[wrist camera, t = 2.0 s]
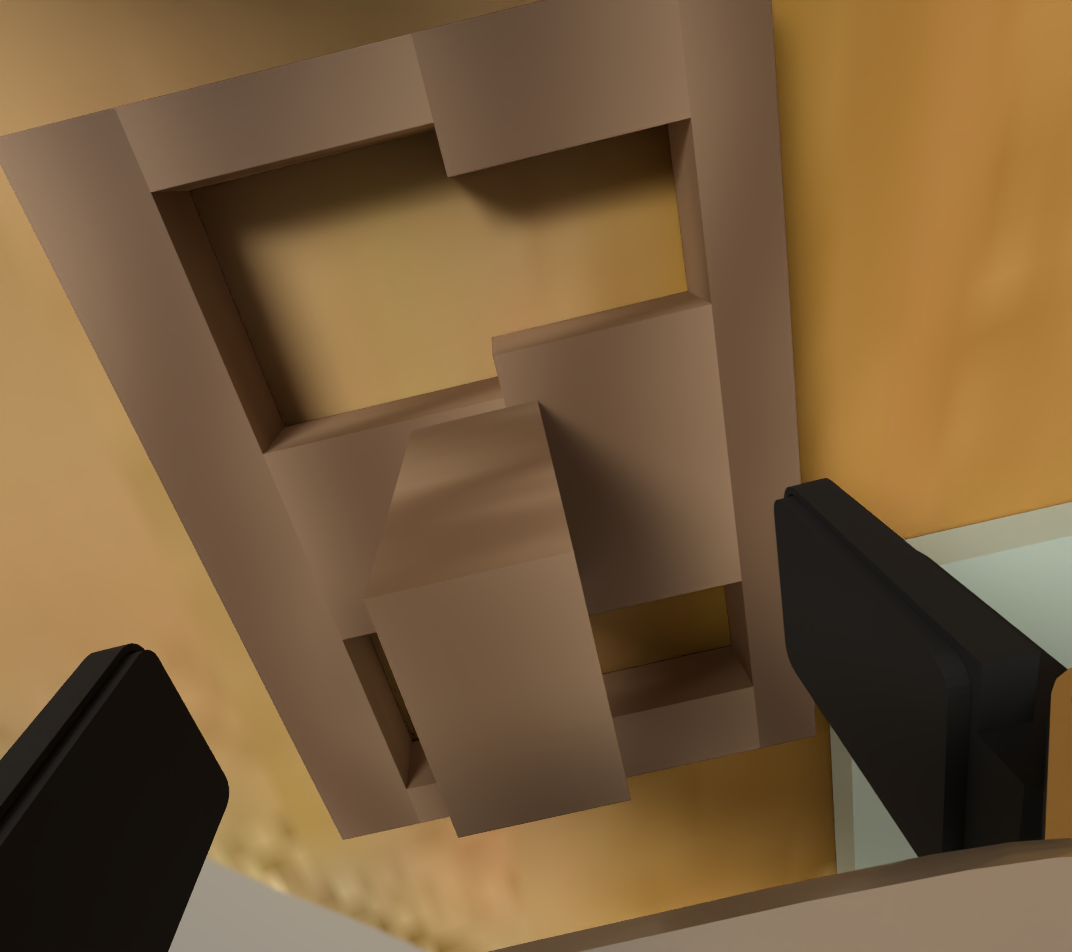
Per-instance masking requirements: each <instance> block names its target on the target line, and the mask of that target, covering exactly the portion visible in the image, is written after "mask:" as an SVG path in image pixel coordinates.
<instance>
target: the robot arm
mask: <svg viewBox="0 0 1072 952" xmlns="http://www.w3.org/2000/svg"><path fill="white" fill-rule="evenodd" d="M774 519H775V531H776V542H777V554H778V565H779V577H780V588H781V600H782V611H783V623H784V634H785V645H786V651H787V655H788V658H789V661H790V663H791V665H792V668H793V669H794V671H795V673H796V674H797V676H798V677H799V679H800V680H801V682H802V683H803V685H804V686H805V688H806V689H807V691H808V692H809V694H810V695H811V697H812V698H813V700H814V701H815V703H816V704H817V706H818V707H819V709H820V710H821V712H822V713H823V715H824V716H825V718H826V719H827V721H828V722H829V724H830V725H831V727H832V728H833V730H834V731H835V733H836V734H837V736H838V737H839V739H840V740H841V742H842V743H843V745H844V746H845V748H846V749H847V751H848V753H849V754H850V756H851V757H852V759H853V760H854V762H855V763H856V765H857V766H858V768H859V769H860V771H861V772H862V774H863V775H864V777H865V778H866V780H867V781H868V783H869V784H870V786H871V787H872V789H873V790H874V792H875V793H876V795H877V796H878V798H879V799H880V801H881V802H882V804H883V805H884V807H885V808H886V810H887V811H888V813H889V814H890V816H891V817H892V819H893V820H894V822H895V823H896V825H897V826H898V828H899V829H900V831H901V832H902V834H903V835H904V837H905V838H906V840H907V841H908V843H909V844H910V846H911V847H912V849H913V850H914V852H915V853H916V855H917V856H918V857H917V858H912V859H907V860H902V861H898V862H893V863H888V864H883V865H878V866H873V867H868V868H864V869H859V870H854V871H849V872H844V873H839V874H835V875H830V876H825V877H820V878H815V879H810V880H806V881H801V882H796V883H791V884H786V885H781V886H777V887H772V888H767V889H763V890H759V891H754V892H750V893H745V894H741V895H736V896H732V897H727V898H723V899H719V900H714V901H710V902H705V903H701V904H696V905H692V906H688V907H683V908H679V909H674V910H670V911H665V912H661V913H657V914H652V915H648V916H643V917H639V918H634V919H630V920H626V921H621V922H617V923H612V924H608V925H603V926H599V927H595V928H590V929H586V930H581V931H577V932H572V933H568V934H564V935H559V936H555V937H550V938H546V939H541V940H537V941H533V942H528V943H524V944H520V945H515V946H511V947H507V948H502V949H498V950H494V951H489V952H1072V668H1069V669H1067V668H1066V667H1064V666H1063V665H1062V664H1061V663H1059V662H1058V661H1057V660H1056V659H1055V658H1053V657H1052V656H1051V655H1050V654H1048V653H1047V652H1046V651H1045V650H1043V649H1042V648H1041V647H1040V646H1038V645H1037V644H1036V643H1035V642H1033V641H1032V640H1031V639H1030V638H1029V637H1027V636H1026V635H1025V634H1024V633H1022V632H1021V631H1020V630H1019V629H1017V628H1016V627H1015V626H1014V625H1012V624H1011V623H1010V622H1009V621H1007V620H1006V619H1005V618H1004V617H1002V616H1001V615H1000V614H999V613H998V612H996V611H995V610H994V609H993V608H991V607H990V606H989V605H988V604H986V603H985V602H984V601H983V600H981V599H980V598H979V597H978V596H976V595H975V594H974V593H973V592H972V591H970V590H969V589H968V588H967V587H965V586H964V585H963V584H962V583H960V582H959V581H958V580H957V579H955V578H954V577H953V576H952V575H950V574H949V573H948V572H947V571H945V570H944V569H943V568H942V567H941V566H939V565H938V564H937V563H936V562H934V561H933V560H932V559H931V558H929V557H928V556H926V555H925V554H923V553H921V552H920V551H917V550H916V549H915V548H914V547H912V546H911V545H910V544H909V543H907V542H906V541H905V540H904V539H902V538H901V537H900V536H899V535H898V534H896V533H895V532H894V531H893V530H891V529H890V528H889V527H888V526H886V525H885V524H884V523H883V522H882V521H880V520H879V519H878V518H877V517H875V516H874V515H873V514H872V513H871V512H869V511H868V510H867V509H866V508H864V507H863V506H862V505H861V504H859V503H858V502H857V501H856V500H855V499H853V498H852V497H851V496H850V495H848V494H847V493H846V492H845V491H843V490H842V489H841V488H840V487H839V486H837V485H836V484H835V483H834V482H832V481H831V480H829V479H827V478H824V479H819V480H815V481H811V482H807V483H803V484H798V485H794V486H790V487H787V488H786V490H785V493H784V498H782V499H778V500H776V501H775V502H774ZM228 799H229V786H228V781H227V779H226V776H225V774H224V773H223V771H222V769H221V767H220V766H219V764H218V762H217V760H216V759H215V757H214V755H213V753H212V752H211V750H210V748H209V746H208V744H207V743H206V741H205V739H204V737H203V736H202V734H201V732H200V730H199V729H198V727H197V725H196V723H195V722H194V720H193V718H192V716H191V715H190V713H189V711H188V709H187V707H186V706H185V704H184V702H183V700H182V699H181V697H180V695H179V693H178V692H177V690H176V688H175V686H174V685H173V683H172V681H171V679H170V677H169V676H168V674H167V672H166V670H165V669H164V667H163V665H162V663H161V662H160V660H159V658H158V657H157V655H156V654H155V653H154V652H152V651H151V650H144V648H142V647H141V646H139V645H138V644H133V643H131V644H127V645H123V646H119V647H114V648H110V649H106V650H102V651H98V652H94V653H91V654H90V655H89V656H87V657H86V658H85V659H84V660H83V662H82V663H81V664H80V665H79V666H78V668H77V669H76V670H75V671H74V672H73V674H72V675H71V676H70V677H69V678H68V680H67V681H66V682H65V683H64V684H63V686H62V687H61V688H60V689H59V690H58V692H57V693H56V694H55V695H54V696H53V698H52V699H51V700H50V701H49V702H48V704H47V705H46V706H45V707H44V708H43V710H42V711H41V712H40V713H39V714H38V716H37V717H36V718H35V719H34V720H33V722H32V723H31V724H30V725H29V726H28V728H27V729H26V730H25V731H24V732H23V734H22V735H21V736H20V737H19V738H18V740H17V741H16V742H15V743H14V744H13V746H12V747H11V748H10V749H9V750H8V752H7V753H6V754H5V755H4V756H3V758H2V759H1V760H0V952H168V950H169V948H170V945H171V943H172V940H173V938H174V935H175V933H176V930H177V928H178V925H179V923H180V921H181V918H182V916H183V913H184V911H185V908H186V906H187V903H188V901H189V898H190V896H191V893H192V891H193V888H194V886H195V883H196V881H197V878H198V876H199V874H200V871H201V868H202V866H203V864H204V861H205V859H206V856H207V854H208V851H209V849H210V846H211V844H212V841H213V839H214V836H215V834H216V831H217V829H218V826H219V824H220V821H221V819H222V817H223V814H224V812H225V809H226V807H227V803H228Z"/></svg>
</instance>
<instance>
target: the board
mask: <svg viewBox="0 0 1072 952" xmlns="http://www.w3.org/2000/svg"><path fill="white" fill-rule="evenodd" d="M905 541H906V542H907V543H909V544H910V545H911V546H912V547H914V548H915V549H916V550H917V551H920V552H921V553H923V554H925V555H926V556H928V557H929V558H931V559H932V560H933V561H934V562H936V563H937V564H938V565H939V566H941V567H942V568H943V569H944V570H945V571H947V572H948V573H949V574H950V575H952V576H953V577H954V578H955V579H957V580H958V581H959V582H960V583H962V584H963V585H964V586H965V587H967V588H968V589H969V590H970V591H972V592H973V593H974V594H975V595H976V596H978V597H979V598H980V599H981V600H983V601H984V602H985V603H986V604H988V605H989V606H990V607H991V608H993V609H994V610H995V611H996V612H998V613H999V614H1000V615H1001V616H1002V617H1004V618H1005V619H1006V620H1007V621H1009V622H1010V623H1011V624H1012V625H1014V626H1015V627H1016V628H1017V629H1019V630H1020V631H1021V632H1022V633H1024V634H1025V635H1026V636H1027V637H1029V638H1030V639H1031V640H1032V641H1033V642H1035V643H1036V644H1037V645H1038V646H1040V647H1041V648H1042V649H1043V650H1045V651H1046V652H1047V653H1048V654H1050V655H1051V656H1052V657H1053V658H1055V659H1056V660H1057V661H1058V662H1059V663H1061V664H1062V665H1063V666H1064V667H1066V668H1067V669H1069V668H1072V502H1069V503H1065V504H1060V505H1056V506H1052V507H1047V508H1043V509H1038V510H1034V511H1030V512H1025V513H1021V514H1016V515H1012V516H1008V517H1003V518H999V519H994V520H990V521H985V522H981V523H977V524H972V525H968V526H963V527H959V528H955V529H950V530H946V531H941V532H937V533H933V534H928V535H924V536H919V537H915V538H911V539H906V540H905ZM830 740H831V761H832V781H833V801H834V822H835V842H836V863H837V874H839V873H844V872H849V871H854V870H859V869H864V868H868V867H873V866H878V865H883V864H888V863H893V862H898V861H902V860H907V859H912V858H917V857H918V856H917V855H916V853H915V852H914V850H913V849H912V847H911V846H910V844H909V843H908V841H907V840H906V838H905V837H904V835H903V834H902V832H901V831H900V829H899V828H898V826H897V825H896V823H895V822H894V820H893V819H892V817H891V816H890V814H889V813H888V811H887V810H886V808H885V807H884V805H883V804H882V802H881V801H880V799H879V798H878V796H877V795H876V793H875V792H874V790H873V789H872V787H871V786H870V784H869V783H868V781H867V780H866V778H865V777H864V775H863V774H862V772H861V771H860V769H859V768H858V766H857V765H856V763H855V762H854V760H853V759H852V757H851V756H850V754H849V753H848V751H847V749H846V748H845V746H844V745H843V743H842V742H841V740H840V739H839V737H838V736H837V734H836V733H835V731H834V730H833V728H832V727H831V725H830Z"/></svg>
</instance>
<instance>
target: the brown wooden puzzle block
mask: <svg viewBox="0 0 1072 952" xmlns="http://www.w3.org/2000/svg"><path fill="white" fill-rule="evenodd" d="M663 125H668V133H669V141H670V149H671V157H672V166H673V174H674V182H675V190H676V198H677V206H678V214H679V222H680V231H681V239H682V247H683V255H684V263H685V271H686V279H687V287H688V291H686V292H682V293H678V294H674V295H669V296H665V297H661V298H657V299H653V300H648V301H644V302H640V303H636V304H632V305H627V306H623V307H619V308H615V309H611V310H606V311H602V312H598V313H594V314H590V315H586V316H581V317H577V318H573V319H569V320H565V321H560V322H556V323H552V324H548V325H544V326H539V327H535V328H531V329H527V330H523V331H518V332H514V333H510V334H506V335H502V336H497V337H493V338H492V350H493V359H494V363H495V367H496V371H497V375H498V377H494V378H490V379H486V380H481V381H477V382H473V383H469V384H464V385H460V386H456V387H452V388H448V389H443V390H439V391H435V392H431V393H426V394H422V395H418V396H414V397H410V398H405V399H401V400H397V401H393V402H388V403H384V404H380V405H376V406H371V407H367V408H363V409H359V410H355V411H350V412H346V413H342V414H338V415H333V416H329V417H325V418H321V419H317V420H312V421H308V422H304V423H300V424H295V425H291V426H287V427H285V426H284V424H283V422H282V419H281V417H280V414H279V412H278V409H277V407H276V404H275V402H274V399H273V397H272V394H271V392H270V389H269V387H268V385H267V382H266V380H265V377H264V375H263V372H262V370H261V367H260V365H259V362H258V360H257V357H256V355H255V352H254V350H253V348H252V345H251V343H250V340H249V338H248V335H247V333H246V330H245V328H244V325H243V323H242V320H241V318H240V315H239V313H238V311H237V308H236V306H235V303H234V301H233V298H232V296H231V293H230V291H229V288H228V286H227V283H226V281H225V278H224V276H223V274H222V271H221V269H220V266H219V264H218V261H217V259H216V256H215V254H214V251H213V249H212V246H211V244H210V241H209V239H208V237H207V234H206V232H205V229H204V227H203V224H202V222H201V219H200V217H199V214H198V212H197V209H196V207H195V204H194V202H193V200H192V197H191V195H190V192H189V191H190V190H194V189H198V188H202V187H206V186H210V185H214V184H218V183H222V182H226V181H230V180H234V179H238V178H242V177H246V176H250V175H254V174H258V173H262V172H267V171H271V170H275V169H279V168H283V167H287V166H291V165H295V164H299V163H303V162H307V161H311V160H315V159H319V158H323V157H327V156H331V155H335V154H339V153H343V152H348V151H352V150H356V149H360V148H364V147H368V146H372V145H376V144H380V143H384V142H388V141H392V140H396V139H400V138H404V137H408V136H412V135H416V134H420V133H424V132H428V131H433V130H436V134H437V138H438V142H439V146H440V150H441V154H442V158H443V162H444V166H445V170H446V173H447V177H455V176H459V175H463V174H467V173H471V172H475V171H479V170H483V169H487V168H492V167H496V166H500V165H504V164H508V163H512V162H516V161H520V160H524V159H528V158H532V157H536V156H541V155H545V154H549V153H553V152H557V151H561V150H565V149H569V148H573V147H577V146H581V145H585V144H589V143H594V142H598V141H602V140H606V139H610V138H614V137H618V136H622V135H626V134H630V133H634V132H638V131H643V130H647V129H651V128H655V127H659V126H663ZM0 165H1V167H2V169H3V171H4V173H5V175H6V177H7V179H8V181H9V183H10V185H11V186H12V188H13V190H14V192H15V194H16V196H17V198H18V200H19V202H20V204H21V206H22V208H23V210H24V212H25V214H26V216H27V218H28V220H29V222H30V224H31V226H32V228H33V230H34V232H35V234H36V236H37V238H38V240H39V242H40V244H41V246H42V248H43V250H44V252H45V254H46V256H47V257H48V259H49V261H50V263H51V265H52V267H53V269H54V271H55V273H56V275H57V277H58V279H59V281H60V283H61V285H62V287H63V289H64V291H65V293H66V295H67V297H68V299H69V301H70V303H71V305H72V307H73V309H74V311H75V313H76V315H77V317H78V319H79V321H80V323H81V325H82V327H83V328H84V330H85V332H86V334H87V336H88V338H89V340H90V342H91V344H92V346H93V348H94V350H95V352H96V354H97V356H98V358H99V360H100V362H101V364H102V366H103V368H104V370H105V372H106V374H107V376H108V378H109V380H110V382H111V384H112V386H113V388H114V390H115V392H116V394H117V396H118V398H119V399H120V401H121V403H122V405H123V407H124V409H125V411H126V413H127V415H128V417H129V419H130V421H131V423H132V425H133V427H134V429H135V431H136V433H137V435H138V437H139V439H140V441H141V443H142V445H143V447H144V449H145V451H146V453H147V455H148V457H149V459H150V461H151V463H152V465H153V467H154V469H155V470H156V472H157V474H158V476H159V478H160V480H161V482H162V484H163V486H164V488H165V490H166V492H167V494H168V496H169V498H170V500H171V502H172V504H173V506H174V508H175V510H176V512H177V514H178V516H179V518H180V520H181V522H182V524H183V526H184V528H185V530H186V532H187V534H188V536H189V538H190V540H191V541H192V543H193V545H194V547H195V549H196V551H197V553H198V555H199V557H200V559H201V561H202V563H203V565H204V567H205V569H206V571H207V573H208V575H209V577H210V579H211V581H212V583H213V585H214V587H215V589H216V591H217V593H218V595H219V597H220V599H221V601H222V603H223V605H224V607H225V609H226V611H227V612H228V614H229V616H230V618H231V620H232V622H233V624H234V626H235V628H236V630H237V632H238V634H239V636H240V638H241V640H242V642H243V644H244V646H245V648H246V650H247V652H248V654H249V656H250V658H251V660H252V662H253V664H254V666H255V668H256V670H257V672H258V674H259V676H260V678H261V680H262V682H263V683H264V685H265V687H266V689H267V691H268V693H269V695H270V697H271V699H272V701H273V703H274V705H275V707H276V709H277V711H278V713H279V715H280V717H281V719H282V721H283V723H284V725H285V727H286V729H287V731H288V733H289V735H290V737H291V739H292V741H293V743H294V745H295V747H296V749H297V751H298V753H299V754H300V756H301V758H302V760H303V762H304V764H305V766H306V768H307V770H308V772H309V774H310V776H311V778H312V780H313V782H314V784H315V786H316V788H317V790H318V792H319V794H320V796H321V798H322V800H323V802H324V804H325V806H326V808H327V810H328V812H329V814H330V816H331V818H332V820H333V822H334V824H335V825H336V827H337V829H338V831H339V833H340V835H341V837H342V839H343V840H345V839H350V838H354V837H359V836H363V835H368V834H372V833H377V832H381V831H386V830H390V829H395V828H400V827H404V826H409V825H413V824H418V823H422V822H427V821H431V820H436V819H440V818H445V817H450V818H451V821H452V823H453V826H454V828H455V831H456V833H457V836H458V838H460V837H464V836H469V835H473V834H478V833H483V832H487V831H492V830H496V829H501V828H505V827H510V826H514V825H519V824H524V823H528V822H533V821H537V820H542V819H546V818H551V817H555V816H560V815H565V814H569V813H574V812H578V811H583V810H587V809H592V808H597V807H601V806H606V805H610V804H615V803H619V802H624V801H628V800H631V798H630V794H629V789H628V785H627V781H626V778H627V777H631V776H636V775H640V774H645V773H649V772H654V771H658V770H663V769H668V768H672V767H677V766H681V765H686V764H690V763H695V762H699V761H704V760H708V759H713V758H718V757H722V756H727V755H731V754H736V753H740V752H745V751H749V750H754V749H758V748H763V747H767V746H772V745H777V744H781V743H786V742H790V741H795V740H799V739H804V738H808V737H813V736H816V724H815V708H814V700H813V698H812V697H811V695H810V694H809V692H808V691H807V689H806V688H805V686H804V685H803V683H802V682H801V680H800V679H799V677H798V676H797V674H796V673H795V671H794V669H793V668H792V665H791V663H790V661H789V658H788V655H787V651H786V645H785V634H784V623H783V611H782V600H781V588H780V577H779V565H778V554H777V542H776V531H775V519H774V502H775V501H776V500H778V499H782V498H784V493H785V490H786V488H787V487H790V486H794V485H798V484H801V478H800V461H799V445H798V429H797V412H796V396H795V379H794V363H793V347H792V330H791V314H790V297H789V281H788V264H787V248H786V232H785V215H784V199H783V182H782V166H781V150H780V133H779V117H778V100H777V84H776V68H775V51H774V35H773V18H772V2H771V0H542V1H538V2H534V3H530V4H526V5H522V6H518V7H514V8H510V9H506V10H502V11H498V12H494V13H490V14H486V15H482V16H478V17H474V18H470V19H466V20H462V21H458V22H454V23H450V24H446V25H442V26H438V27H434V28H430V29H426V30H422V31H418V32H414V33H410V34H406V35H402V36H398V37H394V38H390V39H386V40H382V41H378V42H374V43H370V44H366V45H362V46H358V47H354V48H350V49H346V50H342V51H338V52H335V53H331V54H327V55H323V56H319V57H315V58H311V59H307V60H303V61H299V62H295V63H291V64H287V65H283V66H279V67H275V68H271V69H267V70H263V71H259V72H255V73H251V74H247V75H243V76H239V77H235V78H231V79H227V80H223V81H219V82H215V83H211V84H207V85H203V86H199V87H195V88H191V89H187V90H183V91H179V92H175V93H171V94H167V95H163V96H159V97H155V98H151V99H147V100H143V101H139V102H135V103H131V104H127V105H123V106H119V107H115V108H111V109H107V110H103V111H99V112H95V113H91V114H87V115H83V116H79V117H75V118H72V119H68V120H64V121H60V122H56V123H52V124H48V125H44V126H40V127H36V128H32V129H28V130H24V131H20V132H16V133H12V134H8V135H4V136H0ZM722 585H724V588H725V596H726V604H727V612H728V620H729V628H730V636H731V644H732V646H728V647H723V648H719V649H714V650H710V651H705V652H701V653H696V654H692V655H687V656H683V657H679V658H674V659H670V660H665V661H661V662H656V663H652V664H647V665H643V666H638V667H634V668H629V669H625V670H621V671H616V672H612V673H607V674H603V675H602V672H601V668H600V663H599V659H598V655H597V650H596V646H595V642H594V637H593V633H592V629H591V624H590V620H589V615H594V614H598V613H603V612H607V611H612V610H616V609H620V608H625V607H629V606H634V605H638V604H642V603H647V602H651V601H656V600H660V599H664V598H669V597H673V596H678V595H682V594H687V593H691V592H695V591H700V590H704V589H709V588H713V587H717V586H722ZM375 632H376V633H377V635H378V638H379V640H380V643H381V645H382V648H383V650H384V653H385V655H386V658H387V660H388V663H389V665H390V668H391V670H392V673H393V675H394V678H395V680H396V683H397V685H398V688H399V690H400V693H401V695H402V698H403V700H404V703H405V705H406V708H407V710H408V713H409V715H410V718H411V720H412V723H413V725H414V728H415V730H416V733H417V735H418V738H419V740H418V741H413V742H412V740H411V737H410V735H409V732H408V730H407V727H406V725H405V722H404V720H403V718H402V715H401V713H400V710H399V708H398V705H397V703H396V700H395V698H394V695H393V693H392V690H391V688H390V685H389V683H388V681H387V678H386V676H385V673H384V671H383V668H382V666H381V663H380V661H379V658H378V656H377V653H376V651H375V648H374V646H373V644H372V641H371V639H370V636H369V634H371V633H375Z"/></svg>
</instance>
